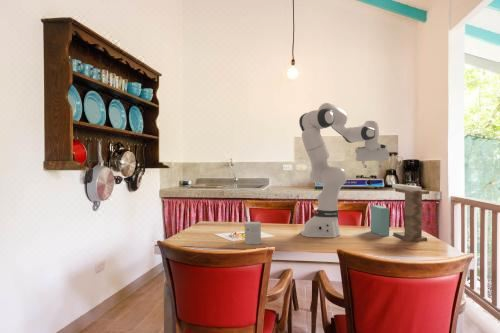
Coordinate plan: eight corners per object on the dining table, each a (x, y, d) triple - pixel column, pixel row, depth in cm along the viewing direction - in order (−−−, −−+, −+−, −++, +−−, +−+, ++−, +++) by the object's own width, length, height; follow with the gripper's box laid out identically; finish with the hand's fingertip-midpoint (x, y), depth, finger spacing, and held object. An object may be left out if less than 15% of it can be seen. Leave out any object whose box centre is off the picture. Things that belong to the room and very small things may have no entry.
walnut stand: (409, 242, 169) (410, 191, 168) (393, 235, 185) (393, 188, 184) (429, 241, 170) (430, 191, 170) (411, 234, 186) (412, 188, 185)
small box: (260, 241, 170) (261, 221, 170) (260, 244, 164) (260, 223, 164) (245, 241, 170) (245, 221, 170) (244, 244, 165) (244, 223, 165)
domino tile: (414, 190, 171) (414, 187, 171) (392, 187, 193) (392, 183, 193) (421, 190, 171) (421, 186, 171) (398, 187, 193) (398, 183, 193)
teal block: (380, 235, 183) (380, 208, 183) (370, 231, 195) (371, 205, 195) (389, 235, 184) (389, 208, 183) (378, 231, 196) (379, 205, 195)
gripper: (356, 146, 207) (357, 168, 207) (389, 145, 205) (390, 167, 205) (354, 147, 213) (355, 168, 214) (386, 145, 211) (387, 167, 211)
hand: (372, 167), depth 209 cm, fingers open, 8 cm apart
